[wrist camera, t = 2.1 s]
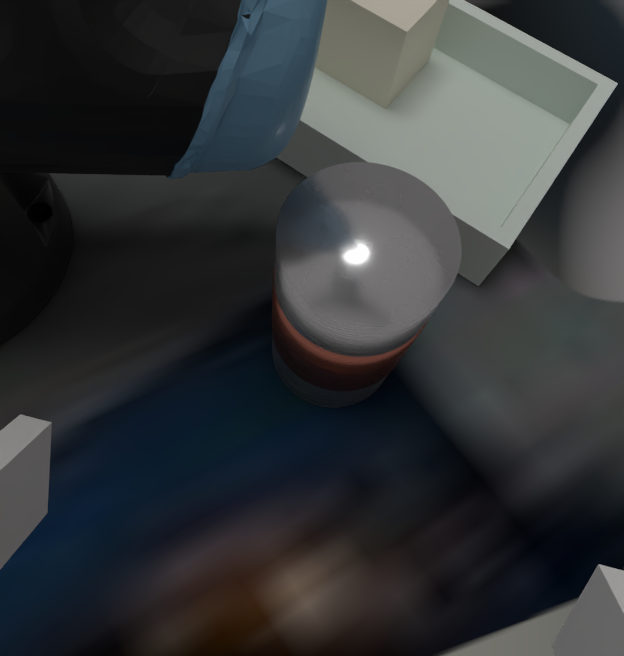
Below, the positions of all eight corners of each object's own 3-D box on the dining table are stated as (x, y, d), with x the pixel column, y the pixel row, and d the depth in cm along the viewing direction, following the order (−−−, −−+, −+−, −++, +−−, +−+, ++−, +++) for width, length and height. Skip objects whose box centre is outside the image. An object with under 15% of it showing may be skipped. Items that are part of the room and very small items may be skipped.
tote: (204, 112, 37) (197, 56, 33) (335, -6, 42) (342, -66, 38) (478, 286, 33) (509, 249, 29) (580, 132, 39) (617, 83, 35)
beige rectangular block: (292, 54, 38) (297, -30, 33) (339, 10, 40) (351, -75, 35) (385, 109, 37) (406, 31, 31) (428, 61, 39) (455, -19, 34)
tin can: (245, 359, 30) (235, 251, 19) (317, 272, 33) (344, 132, 22) (348, 434, 29) (399, 363, 18) (414, 338, 32) (495, 224, 20)
